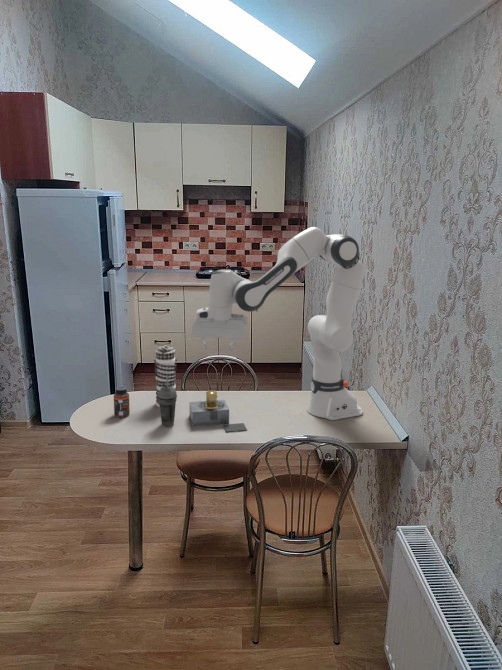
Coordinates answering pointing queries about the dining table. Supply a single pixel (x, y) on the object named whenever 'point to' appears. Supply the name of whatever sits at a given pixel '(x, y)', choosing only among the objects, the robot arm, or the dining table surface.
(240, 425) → the mat
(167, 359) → the checkered thermos bottle
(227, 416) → the housing
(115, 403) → the supplement bottle
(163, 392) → the beverage cup
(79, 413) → the dining table surface
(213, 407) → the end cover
